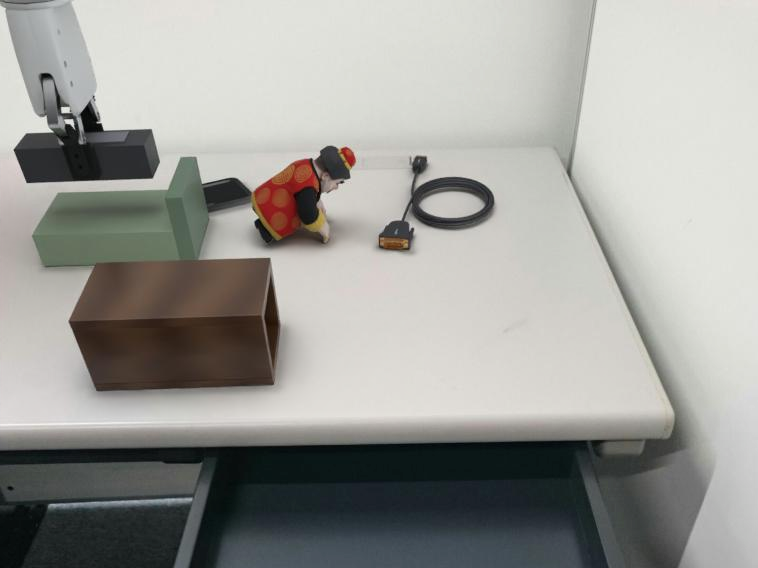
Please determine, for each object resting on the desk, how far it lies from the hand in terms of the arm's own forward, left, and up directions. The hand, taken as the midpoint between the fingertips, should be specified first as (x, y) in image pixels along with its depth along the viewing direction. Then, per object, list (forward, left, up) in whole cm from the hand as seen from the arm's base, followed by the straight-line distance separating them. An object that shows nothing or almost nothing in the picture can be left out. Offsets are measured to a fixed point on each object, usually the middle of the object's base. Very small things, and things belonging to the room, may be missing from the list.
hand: (92, 167), depth 88 cm
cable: (+44, +8, -9) cm, 46 cm away
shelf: (+14, -27, -9) cm, 31 cm away
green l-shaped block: (+2, 0, -9) cm, 9 cm away
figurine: (+25, +1, -9) cm, 27 cm away
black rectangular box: (0, 0, -1) cm, 1 cm away
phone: (+9, +11, -10) cm, 17 cm away
